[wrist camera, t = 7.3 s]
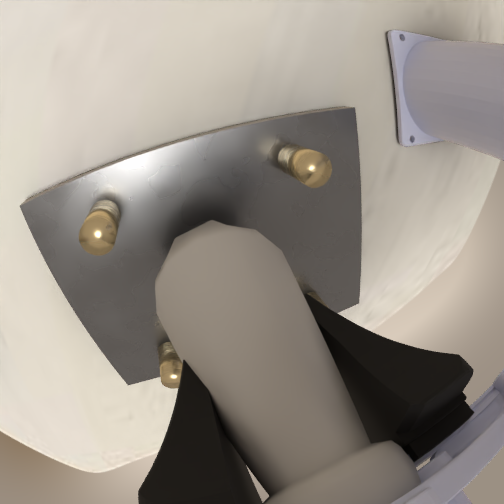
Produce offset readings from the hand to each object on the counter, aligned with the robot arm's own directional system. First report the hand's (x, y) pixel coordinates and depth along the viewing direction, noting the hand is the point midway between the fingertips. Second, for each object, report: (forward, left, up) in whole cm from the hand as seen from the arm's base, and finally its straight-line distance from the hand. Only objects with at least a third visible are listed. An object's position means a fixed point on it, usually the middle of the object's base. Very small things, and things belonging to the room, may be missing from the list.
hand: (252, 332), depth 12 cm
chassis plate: (0, 0, -6) cm, 6 cm away
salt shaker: (+1, -2, -4) cm, 4 cm away
